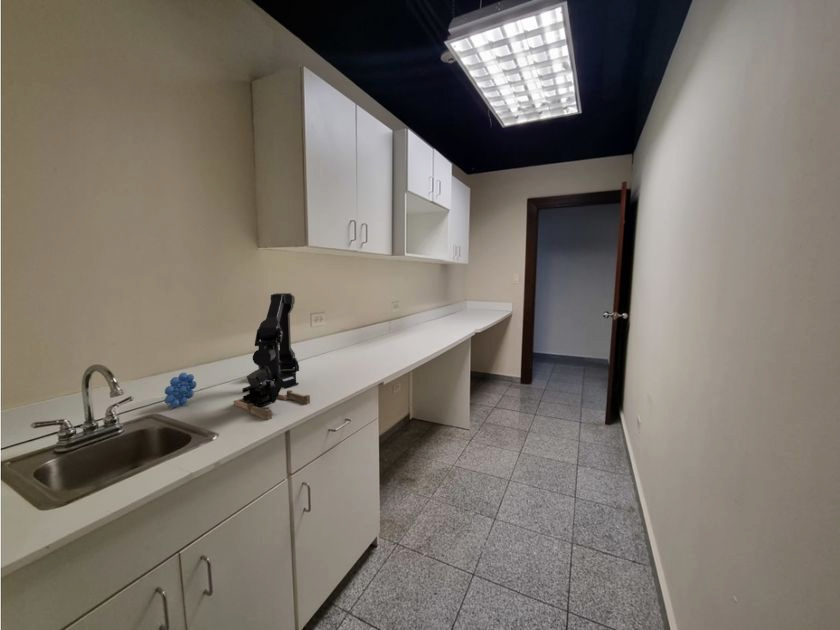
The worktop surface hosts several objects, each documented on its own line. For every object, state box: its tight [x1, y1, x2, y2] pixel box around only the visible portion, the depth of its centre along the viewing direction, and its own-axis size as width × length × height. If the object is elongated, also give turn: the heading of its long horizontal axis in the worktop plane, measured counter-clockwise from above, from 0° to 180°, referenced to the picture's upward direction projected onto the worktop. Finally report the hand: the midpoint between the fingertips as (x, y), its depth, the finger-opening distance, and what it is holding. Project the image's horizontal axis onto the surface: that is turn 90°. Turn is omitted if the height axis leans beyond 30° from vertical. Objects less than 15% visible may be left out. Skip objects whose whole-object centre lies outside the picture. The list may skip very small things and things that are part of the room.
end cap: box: [242, 384, 272, 407], centre depth 129 cm, size 10×7×7 cm
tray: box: [233, 392, 288, 410], centre depth 129 cm, size 14×12×2 cm
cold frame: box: [246, 389, 311, 421], centre depth 124 cm, size 17×11×3 cm, turn 148°
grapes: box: [164, 372, 197, 409], centre depth 126 cm, size 12×7×12 cm, turn 161°
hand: (273, 402), depth 125 cm, fingers closed
